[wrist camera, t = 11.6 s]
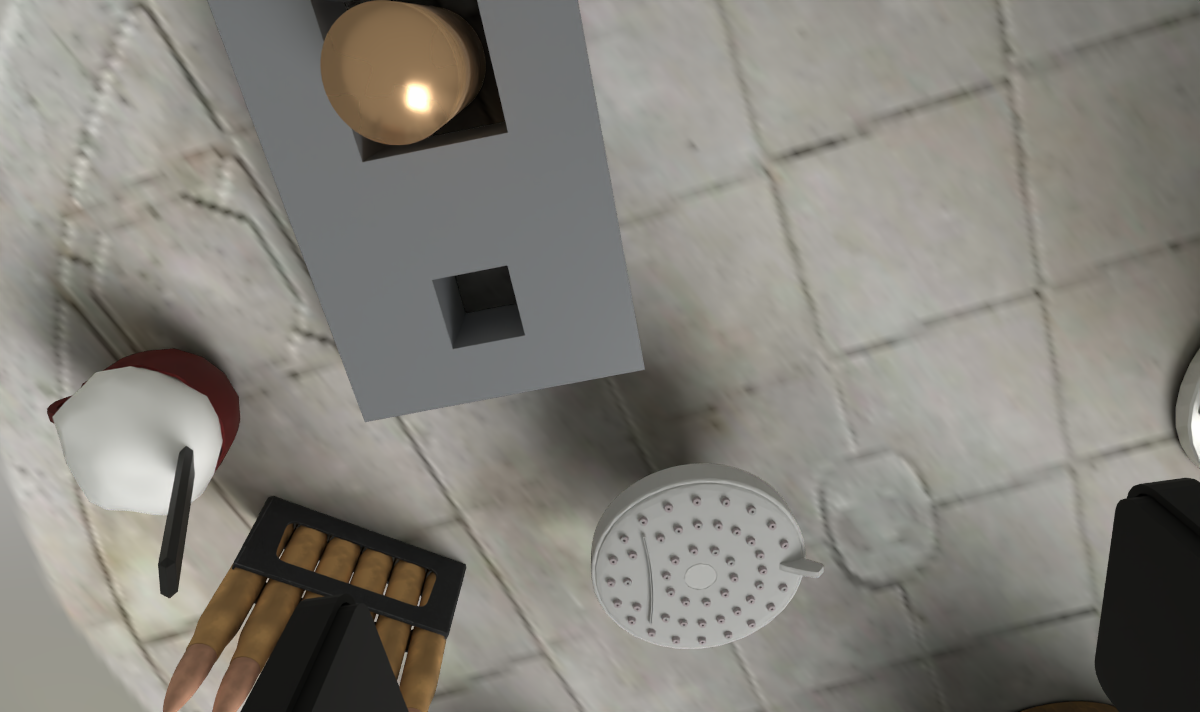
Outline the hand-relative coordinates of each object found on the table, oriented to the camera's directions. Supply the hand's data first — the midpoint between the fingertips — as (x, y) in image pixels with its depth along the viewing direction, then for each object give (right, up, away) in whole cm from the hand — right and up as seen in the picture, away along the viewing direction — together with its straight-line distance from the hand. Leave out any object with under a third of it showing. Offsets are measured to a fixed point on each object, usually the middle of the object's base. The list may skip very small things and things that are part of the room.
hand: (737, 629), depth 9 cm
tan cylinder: (-8, +15, +20) cm, 26 cm away
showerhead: (+3, -3, +29) cm, 29 cm away
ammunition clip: (-14, -6, +29) cm, 33 cm away
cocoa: (-21, +2, +25) cm, 33 cm away
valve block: (-8, +12, +21) cm, 25 cm away
